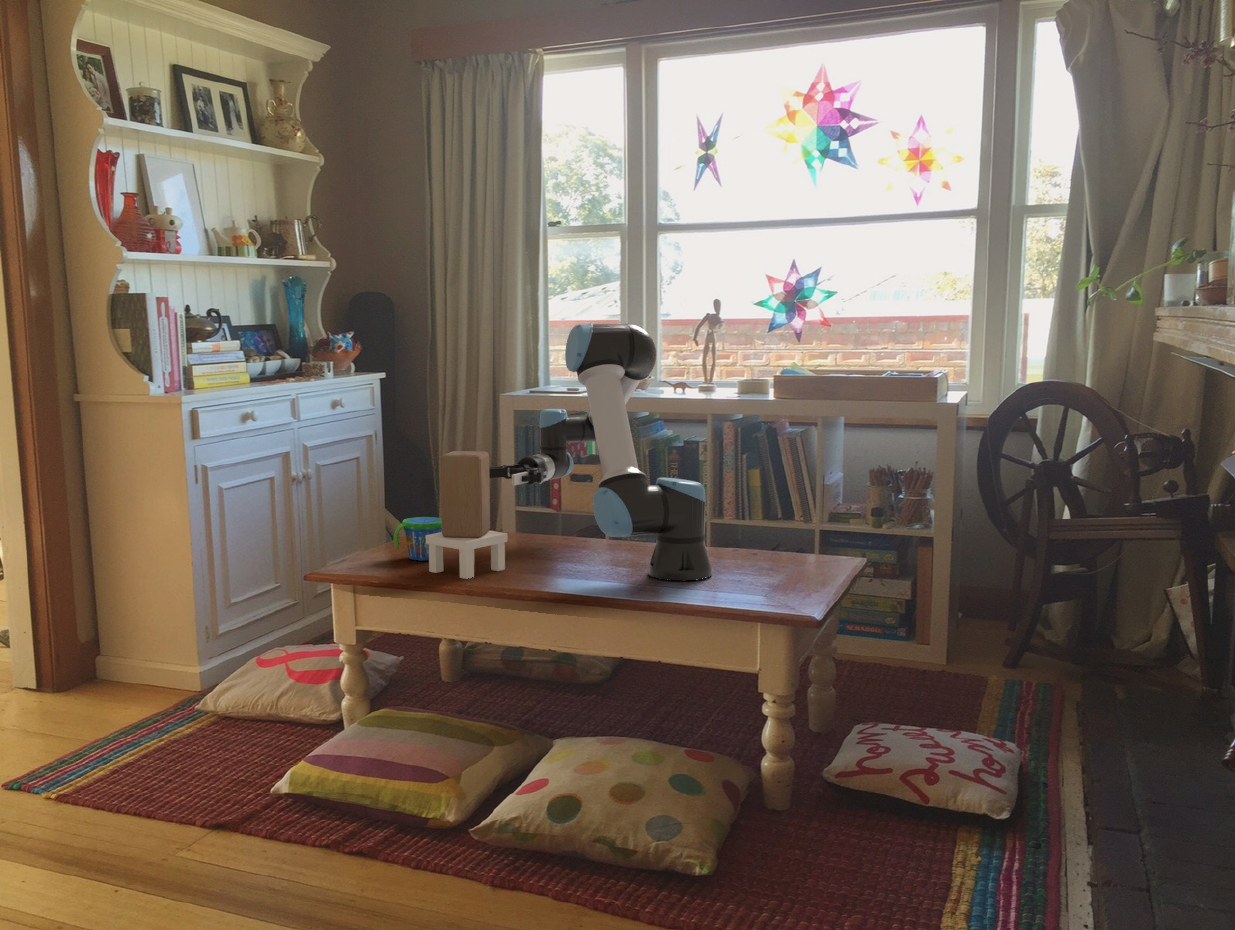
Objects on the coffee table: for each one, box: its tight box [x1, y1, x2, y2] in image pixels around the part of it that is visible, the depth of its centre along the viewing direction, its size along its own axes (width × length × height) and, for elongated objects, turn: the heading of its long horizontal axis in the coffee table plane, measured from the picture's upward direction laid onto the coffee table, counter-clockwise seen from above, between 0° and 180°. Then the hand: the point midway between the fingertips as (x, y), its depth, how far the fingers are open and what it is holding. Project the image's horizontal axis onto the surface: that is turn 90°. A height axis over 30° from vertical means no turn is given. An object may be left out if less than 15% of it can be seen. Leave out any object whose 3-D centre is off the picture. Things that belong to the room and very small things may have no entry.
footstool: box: [426, 530, 509, 580], centre depth 251 cm, size 14×14×9 cm
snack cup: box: [392, 516, 442, 562], centre depth 264 cm, size 16×10×10 cm
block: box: [439, 450, 491, 538], centre depth 249 cm, size 10×10×20 cm
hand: (490, 478), depth 258 cm, fingers open, 13 cm apart
